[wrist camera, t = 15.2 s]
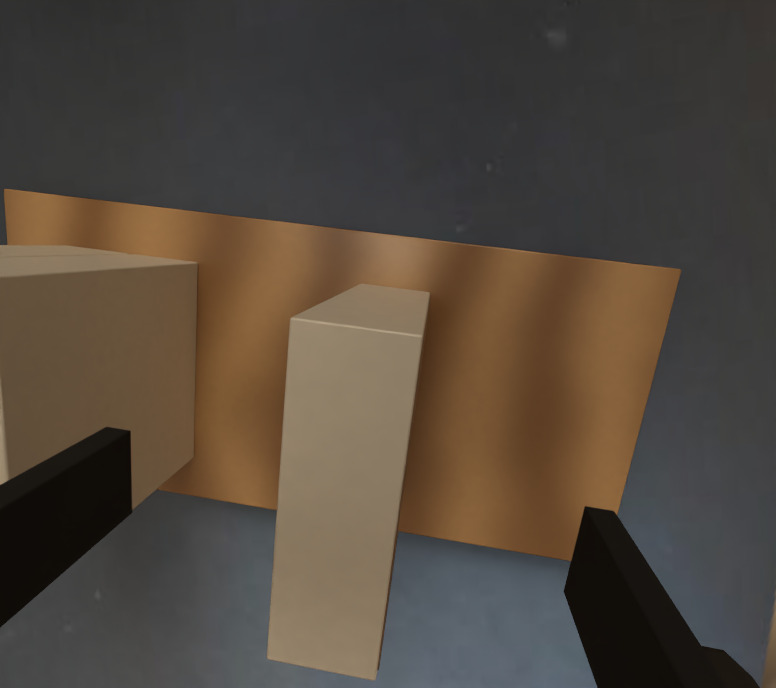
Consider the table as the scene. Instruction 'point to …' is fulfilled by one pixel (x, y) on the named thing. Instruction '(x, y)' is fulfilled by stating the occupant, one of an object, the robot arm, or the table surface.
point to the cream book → (343, 475)
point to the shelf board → (438, 369)
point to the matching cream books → (97, 356)
